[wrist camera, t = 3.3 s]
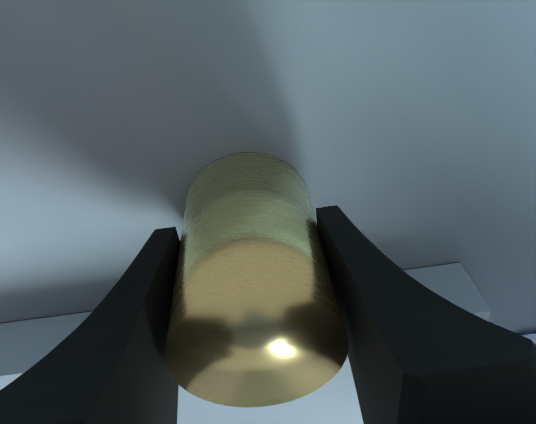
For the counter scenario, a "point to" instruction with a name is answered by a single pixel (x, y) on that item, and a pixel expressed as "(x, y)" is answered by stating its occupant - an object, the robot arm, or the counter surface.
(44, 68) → the counter surface
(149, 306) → the robot arm
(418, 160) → the counter surface
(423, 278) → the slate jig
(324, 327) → the gold metal cylinder
